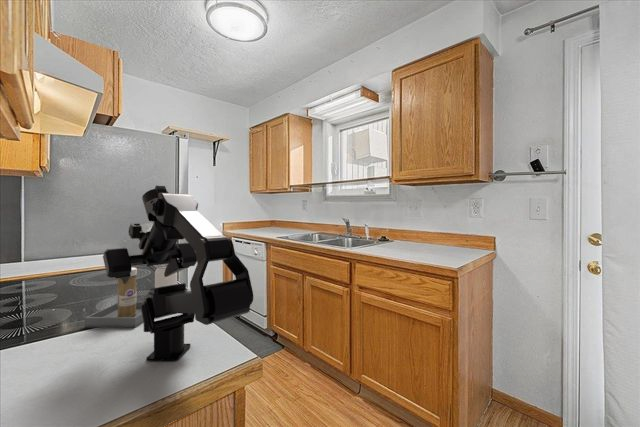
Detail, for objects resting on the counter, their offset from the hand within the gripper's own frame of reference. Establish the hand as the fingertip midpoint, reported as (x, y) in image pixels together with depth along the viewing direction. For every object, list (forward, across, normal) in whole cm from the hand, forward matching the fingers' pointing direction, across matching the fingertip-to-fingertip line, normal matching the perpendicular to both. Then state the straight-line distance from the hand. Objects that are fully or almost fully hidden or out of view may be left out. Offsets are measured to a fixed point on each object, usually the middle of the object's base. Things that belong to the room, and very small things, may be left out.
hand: (145, 278), depth 71 cm
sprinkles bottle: (+19, 0, -1) cm, 19 cm away
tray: (+20, 0, -1) cm, 20 cm away
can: (+24, -13, -5) cm, 28 cm away
